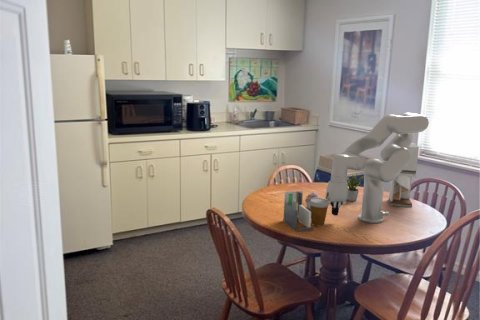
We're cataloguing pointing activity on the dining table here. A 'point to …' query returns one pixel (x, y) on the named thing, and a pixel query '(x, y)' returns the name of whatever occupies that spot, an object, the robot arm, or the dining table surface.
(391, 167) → the robot arm
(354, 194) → the house plant
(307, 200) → the cupcake
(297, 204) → the gauge frame
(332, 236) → the dining table surface
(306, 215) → the pale grey flat panel
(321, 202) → the disposable coffee cup
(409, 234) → the dining table surface
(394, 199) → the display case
